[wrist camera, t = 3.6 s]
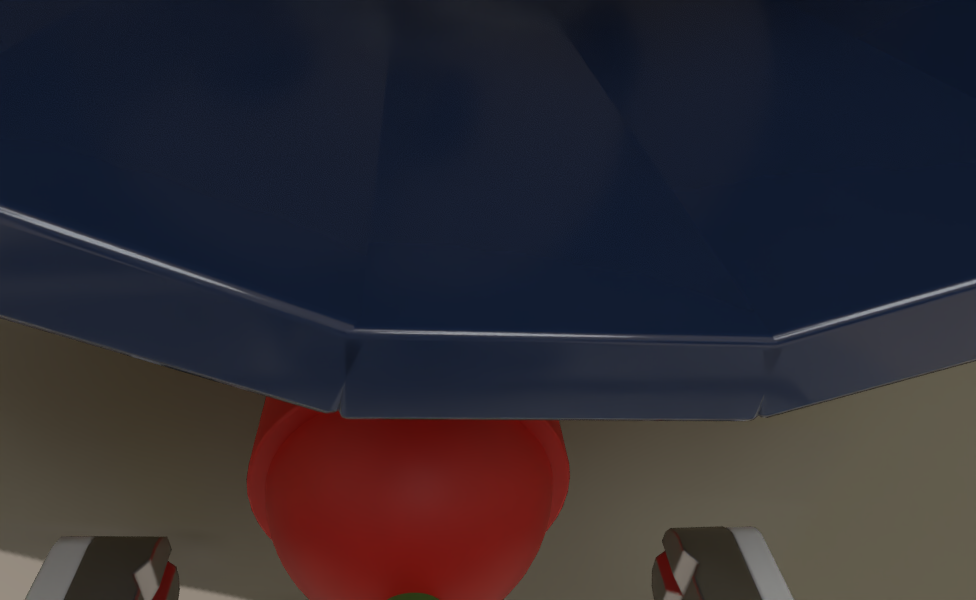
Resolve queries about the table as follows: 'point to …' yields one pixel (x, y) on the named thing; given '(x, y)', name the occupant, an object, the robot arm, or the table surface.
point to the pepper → (405, 502)
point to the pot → (498, 198)
